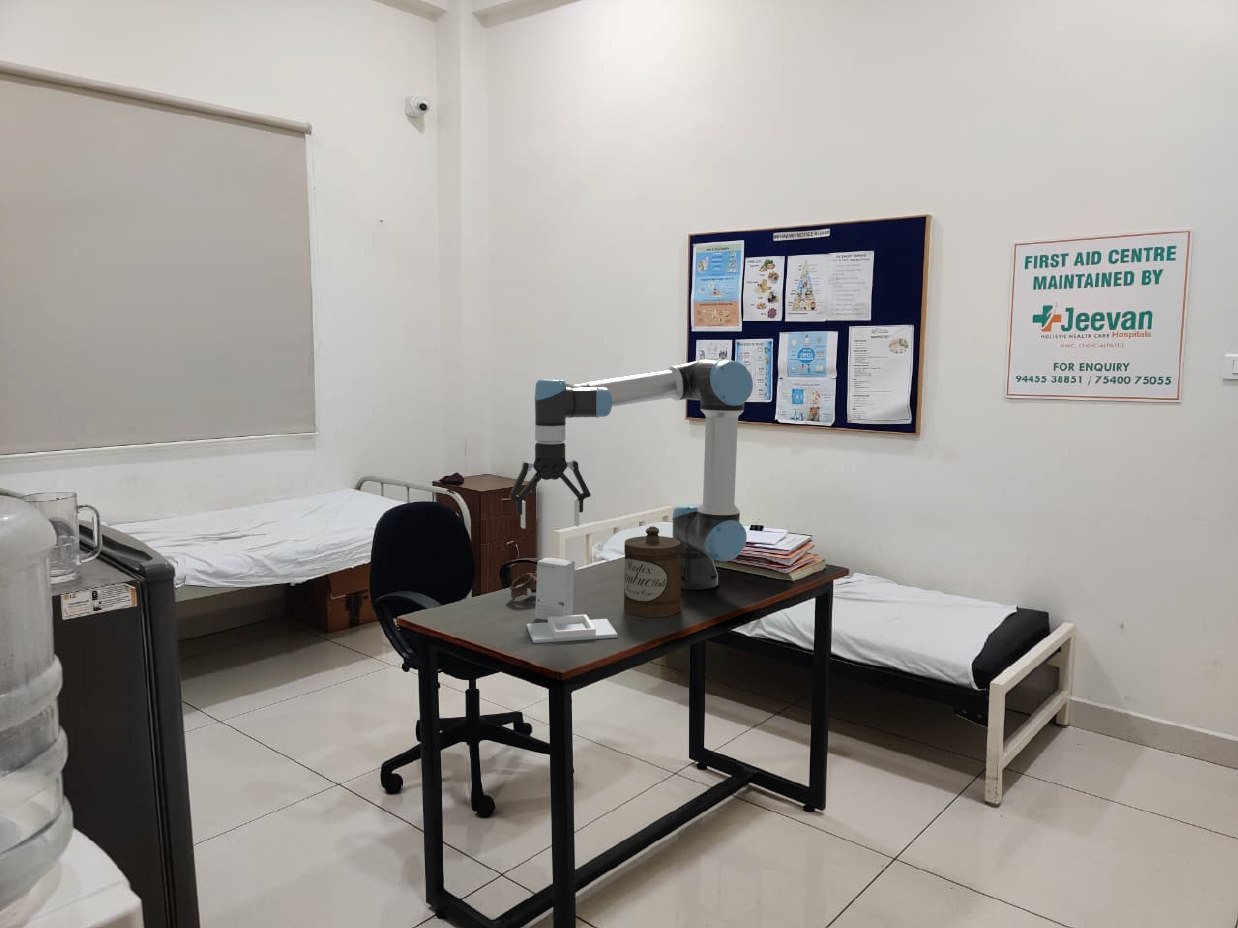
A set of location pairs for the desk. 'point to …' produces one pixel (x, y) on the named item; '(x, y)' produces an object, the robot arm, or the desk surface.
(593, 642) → the desk surface
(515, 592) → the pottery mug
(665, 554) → the wooden container
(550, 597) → the skincare box
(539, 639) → the white box stand
